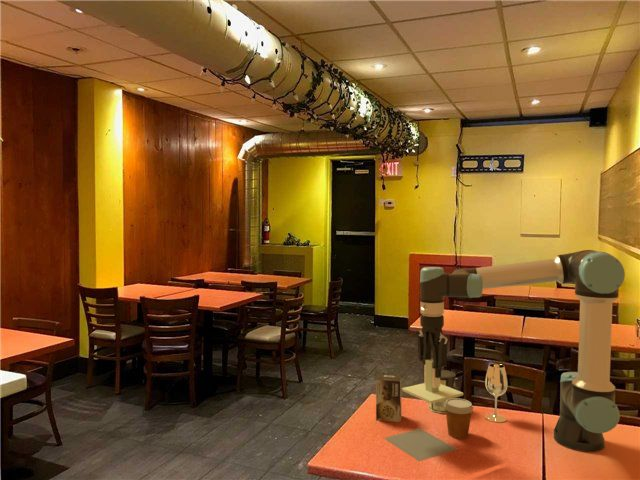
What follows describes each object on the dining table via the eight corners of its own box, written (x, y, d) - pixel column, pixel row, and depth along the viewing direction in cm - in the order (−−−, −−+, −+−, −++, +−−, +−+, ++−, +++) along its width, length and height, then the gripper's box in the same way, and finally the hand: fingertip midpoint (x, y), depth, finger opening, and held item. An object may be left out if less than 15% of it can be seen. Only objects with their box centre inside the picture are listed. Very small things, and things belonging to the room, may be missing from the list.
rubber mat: (457, 452, 159) (457, 449, 159) (418, 464, 152) (419, 461, 151) (420, 431, 175) (420, 428, 175) (383, 441, 167) (383, 438, 167)
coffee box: (401, 418, 186) (402, 375, 186) (400, 425, 180) (400, 381, 179) (377, 415, 189) (377, 373, 188) (375, 422, 182) (375, 379, 182)
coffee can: (451, 403, 201) (451, 369, 200) (458, 413, 191) (458, 377, 190) (425, 403, 201) (426, 369, 200) (431, 413, 191) (431, 377, 190)
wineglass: (482, 413, 191) (483, 362, 190) (504, 414, 190) (505, 363, 189) (486, 422, 183) (487, 368, 182) (508, 423, 182) (510, 369, 181)
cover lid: (463, 395, 162) (463, 362, 161) (430, 403, 155) (430, 369, 154) (433, 383, 174) (433, 352, 173) (401, 390, 167) (401, 358, 166)
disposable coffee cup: (473, 444, 165) (474, 409, 164) (444, 442, 166) (444, 406, 166) (471, 432, 174) (471, 398, 173) (443, 430, 176) (443, 396, 175)
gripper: (407, 311, 168) (407, 380, 169) (440, 319, 154) (441, 394, 155) (423, 309, 172) (424, 376, 173) (458, 317, 158) (458, 390, 159)
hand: (432, 385), depth 164 cm, fingers closed on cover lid, 3 cm apart
